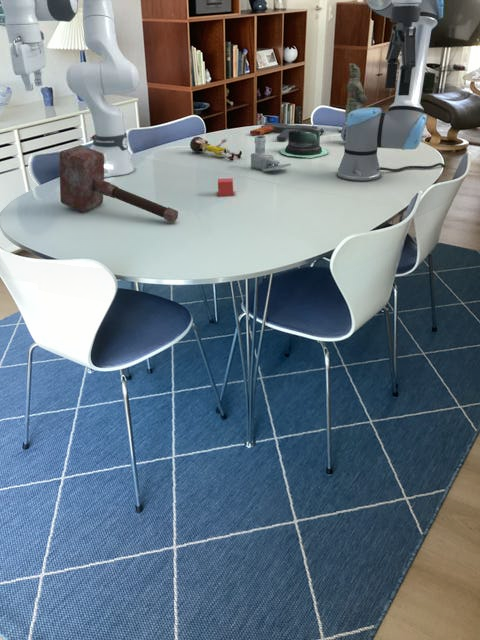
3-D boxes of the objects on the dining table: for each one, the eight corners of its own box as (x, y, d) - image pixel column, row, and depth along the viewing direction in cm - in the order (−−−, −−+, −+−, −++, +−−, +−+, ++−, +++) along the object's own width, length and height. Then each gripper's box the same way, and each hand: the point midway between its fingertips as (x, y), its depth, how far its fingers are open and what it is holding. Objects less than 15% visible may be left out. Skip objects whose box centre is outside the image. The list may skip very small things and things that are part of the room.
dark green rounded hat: (332, 145, 241) (326, 158, 224) (294, 164, 249) (286, 177, 233) (317, 113, 235) (310, 124, 219) (279, 133, 244) (269, 145, 228)
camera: (261, 133, 214) (291, 139, 206) (260, 163, 220) (290, 170, 212) (246, 137, 209) (277, 143, 200) (246, 168, 215) (276, 176, 206)
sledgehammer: (186, 184, 163) (79, 143, 174) (168, 194, 155) (57, 150, 167) (180, 236, 173) (79, 194, 184) (163, 248, 165) (58, 203, 177)
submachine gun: (243, 132, 260) (267, 122, 278) (243, 138, 261) (267, 127, 280) (305, 138, 246) (326, 127, 265) (305, 144, 248) (326, 133, 266)
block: (233, 195, 187) (232, 181, 185) (218, 196, 187) (217, 182, 184) (232, 192, 190) (232, 178, 188) (218, 192, 190) (217, 178, 188)
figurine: (227, 151, 220) (181, 135, 232) (225, 170, 224) (181, 153, 236) (247, 145, 228) (203, 130, 241) (246, 163, 233) (202, 147, 245)
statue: (367, 132, 266) (374, 63, 251) (349, 133, 264) (355, 64, 249) (357, 127, 275) (362, 61, 260) (339, 129, 273) (344, 62, 258)
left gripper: (24, 37, 148) (35, 93, 155) (45, 33, 165) (54, 83, 172) (0, 38, 147) (12, 94, 154) (24, 33, 165) (33, 83, 172)
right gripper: (436, 5, 135) (423, 98, 146) (406, 4, 157) (397, 85, 167) (405, 6, 135) (395, 99, 146) (380, 4, 157) (372, 85, 167)
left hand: (34, 88), depth 163 cm, fingers open, 8 cm apart
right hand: (396, 91), depth 157 cm, fingers open, 13 cm apart
